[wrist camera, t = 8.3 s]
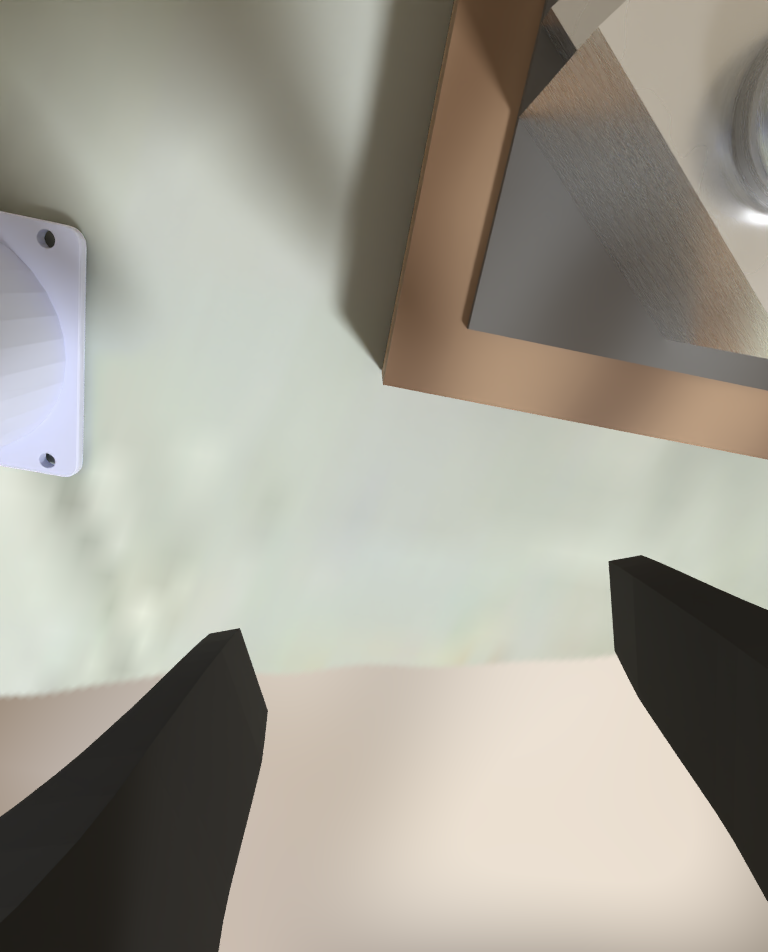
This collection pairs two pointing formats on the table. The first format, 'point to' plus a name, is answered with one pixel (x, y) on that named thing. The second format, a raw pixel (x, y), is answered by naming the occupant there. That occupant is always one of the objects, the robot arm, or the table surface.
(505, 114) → the stand
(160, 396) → the table surface
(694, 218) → the housing
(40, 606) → the table surface
